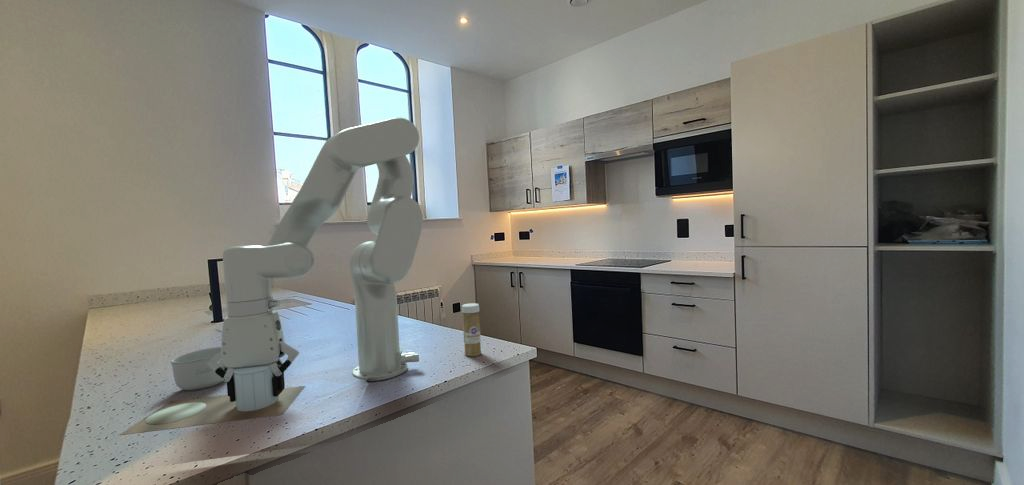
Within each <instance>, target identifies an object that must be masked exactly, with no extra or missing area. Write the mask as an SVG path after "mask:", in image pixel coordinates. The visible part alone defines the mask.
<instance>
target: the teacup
mask: <svg viewBox="0 0 1024 485" xmlns="http://www.w3.org/2000/svg"><path fill="white" fill-rule="evenodd" d="M220 351H221V345H219V346H216V347H215V346H214V347H207V348H203V349H198V350H193V351H190V352H188V353H187V352H186V353H184V354H183V353H182V354H180V355H178V356H176V357H174V358H172V359H171V360H170V364H171V367H172V373H173V374H172V375H173V379H174V382H175V386H177V388H178V389H181V390H184V391H196V390H197V391H198V390H202V389H206V388H211V387H214V386H217V385H218V384H221V383H223V382H224V381H223V378H222V377H220V376H219V375H217V374H216V373H215V371H214V370H212V369H211V368H210V367H209V366H208V365H207V362H208V361H210V360H211V359H212V358H213V357H214V356H215V355H216V354H217V353H219V352H220ZM220 363H221V364H222V365H223V363H222V359H221V360H220Z"/></svg>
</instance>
